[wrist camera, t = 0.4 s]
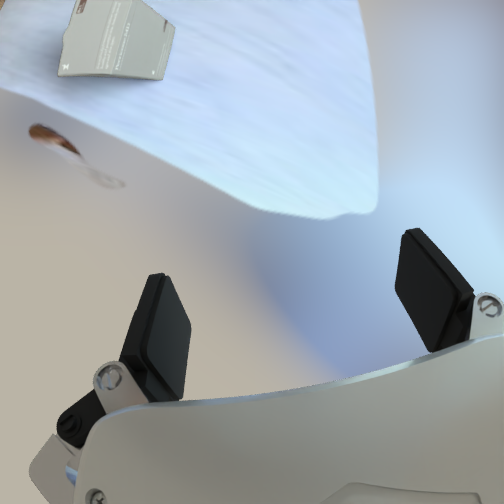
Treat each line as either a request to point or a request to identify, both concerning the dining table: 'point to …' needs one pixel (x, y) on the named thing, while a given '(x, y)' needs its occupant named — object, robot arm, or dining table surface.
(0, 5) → the board
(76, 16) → the skincare box
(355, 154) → the dining table surface
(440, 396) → the robot arm
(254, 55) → the dining table surface
